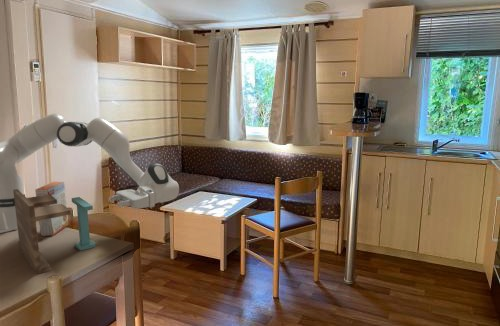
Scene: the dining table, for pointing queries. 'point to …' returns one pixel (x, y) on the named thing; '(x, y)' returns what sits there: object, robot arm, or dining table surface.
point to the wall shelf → (34, 225)
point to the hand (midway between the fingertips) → (113, 201)
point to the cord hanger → (83, 223)
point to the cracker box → (58, 192)
